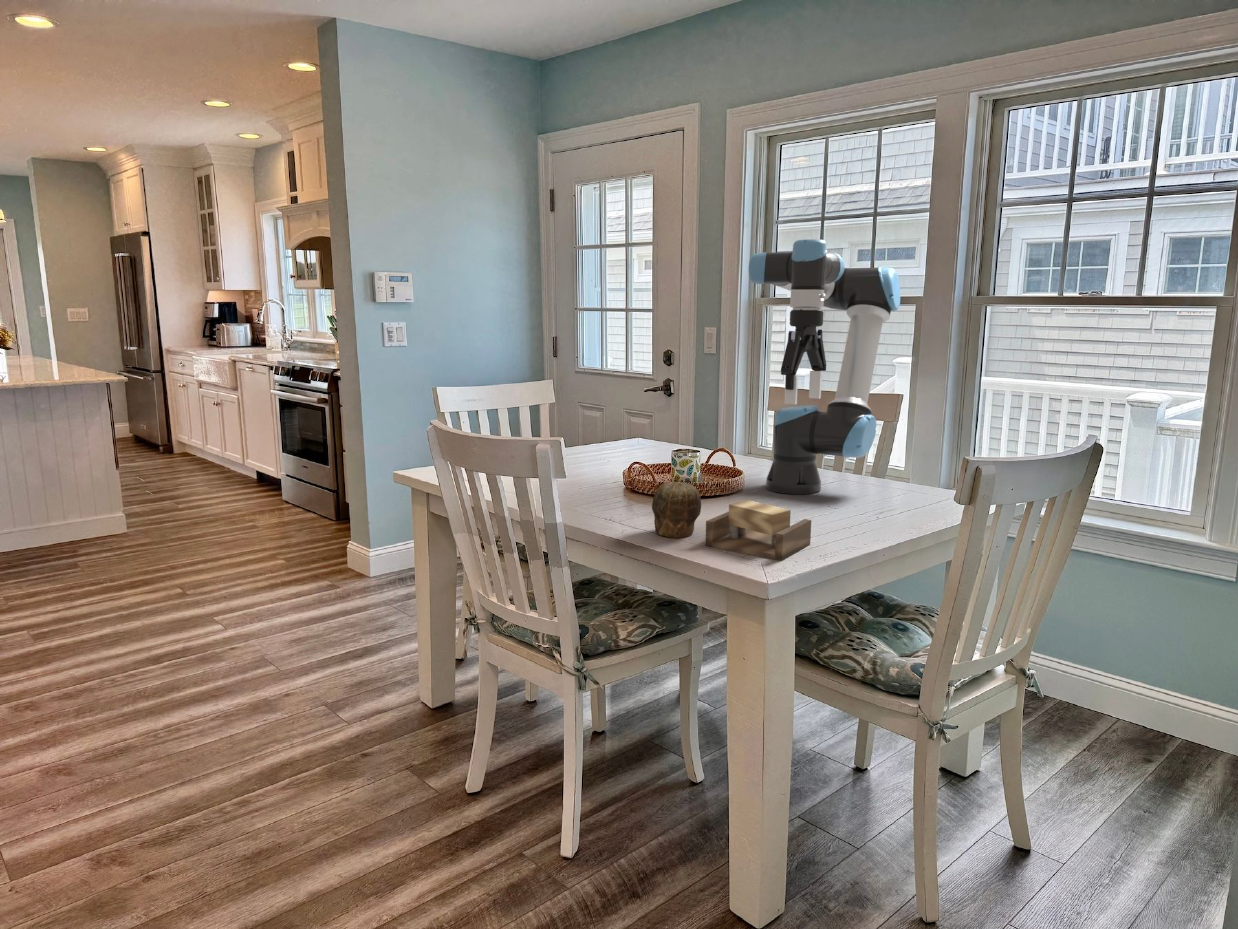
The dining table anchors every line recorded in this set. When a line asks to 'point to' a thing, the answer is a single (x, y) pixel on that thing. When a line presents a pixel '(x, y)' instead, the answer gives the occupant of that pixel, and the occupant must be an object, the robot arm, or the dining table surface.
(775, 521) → the light wooden block
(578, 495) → the dining table surface
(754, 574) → the dining table surface
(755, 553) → the peg frame
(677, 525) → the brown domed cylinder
